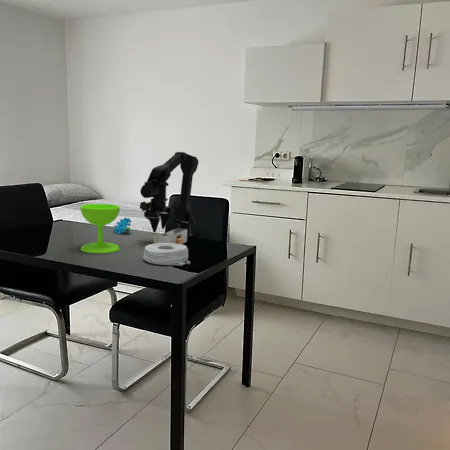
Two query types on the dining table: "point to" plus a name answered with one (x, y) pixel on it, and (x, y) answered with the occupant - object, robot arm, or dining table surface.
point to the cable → (166, 254)
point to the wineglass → (100, 225)
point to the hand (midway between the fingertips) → (158, 230)
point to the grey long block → (173, 236)
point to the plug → (156, 237)
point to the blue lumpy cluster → (123, 226)
